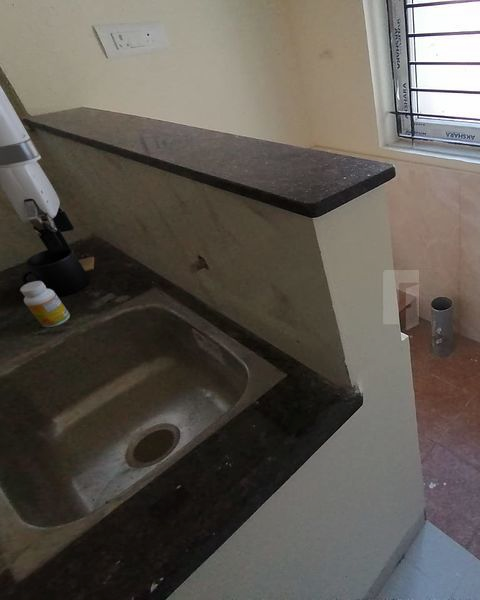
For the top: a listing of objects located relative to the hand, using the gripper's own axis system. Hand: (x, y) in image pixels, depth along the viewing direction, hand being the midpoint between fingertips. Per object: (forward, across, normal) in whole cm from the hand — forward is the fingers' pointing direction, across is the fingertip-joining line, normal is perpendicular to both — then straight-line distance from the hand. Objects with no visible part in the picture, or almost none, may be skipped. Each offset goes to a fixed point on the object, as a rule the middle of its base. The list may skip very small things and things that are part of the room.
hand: (63, 240), depth 78 cm
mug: (+20, -20, -11) cm, 30 cm away
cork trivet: (+20, -30, -8) cm, 37 cm away
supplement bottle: (+20, -5, -11) cm, 23 cm away
